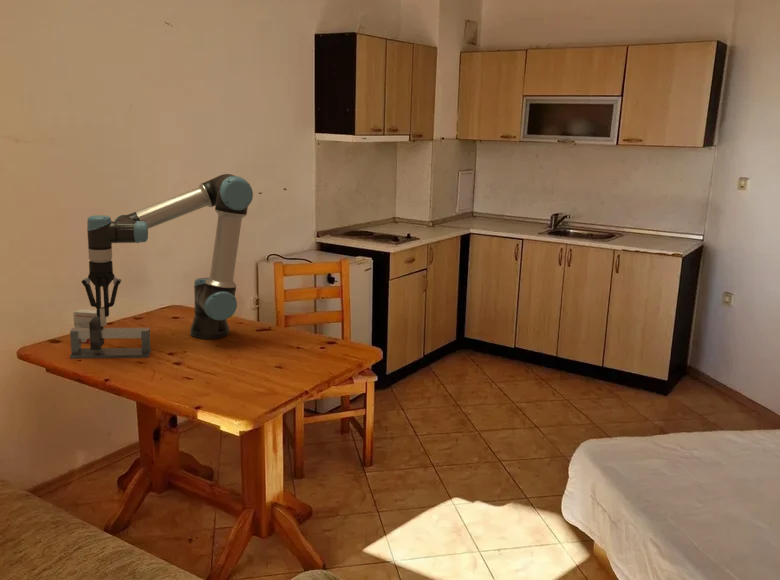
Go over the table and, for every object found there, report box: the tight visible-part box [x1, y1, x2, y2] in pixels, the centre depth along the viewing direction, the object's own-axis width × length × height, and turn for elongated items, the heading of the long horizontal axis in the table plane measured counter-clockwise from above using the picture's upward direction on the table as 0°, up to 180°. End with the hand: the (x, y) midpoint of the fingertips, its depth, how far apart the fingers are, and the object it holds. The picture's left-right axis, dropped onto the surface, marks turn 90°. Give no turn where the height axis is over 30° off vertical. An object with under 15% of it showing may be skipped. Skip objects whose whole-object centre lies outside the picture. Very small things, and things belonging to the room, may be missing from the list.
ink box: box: [73, 308, 97, 344], centre depth 257 cm, size 9×5×12 cm, turn 84°
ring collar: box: [89, 317, 105, 350], centre depth 243 cm, size 3×8×10 cm, turn 11°
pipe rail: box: [69, 327, 152, 359], centre depth 244 cm, size 26×8×10 cm, turn 102°
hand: (103, 325), depth 242 cm, fingers closed
